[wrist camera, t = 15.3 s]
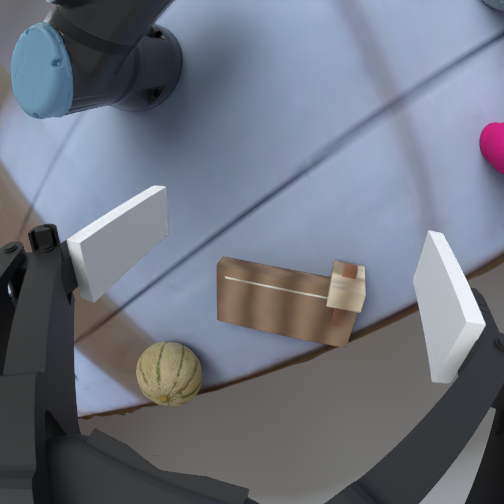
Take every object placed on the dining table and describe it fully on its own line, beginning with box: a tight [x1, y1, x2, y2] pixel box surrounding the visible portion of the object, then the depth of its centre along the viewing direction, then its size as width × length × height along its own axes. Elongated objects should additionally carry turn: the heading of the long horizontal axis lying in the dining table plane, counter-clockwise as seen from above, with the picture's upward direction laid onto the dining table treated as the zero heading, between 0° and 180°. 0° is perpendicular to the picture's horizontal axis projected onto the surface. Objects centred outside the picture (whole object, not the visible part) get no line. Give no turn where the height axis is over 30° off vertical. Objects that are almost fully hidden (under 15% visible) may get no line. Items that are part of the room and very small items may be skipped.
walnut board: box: [217, 257, 358, 348], centre depth 55 cm, size 24×12×3 cm, turn 87°
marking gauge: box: [326, 261, 366, 328], centre depth 48 cm, size 5×11×8 cm, turn 177°
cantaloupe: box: [136, 341, 202, 406], centre depth 66 cm, size 15×15×15 cm
